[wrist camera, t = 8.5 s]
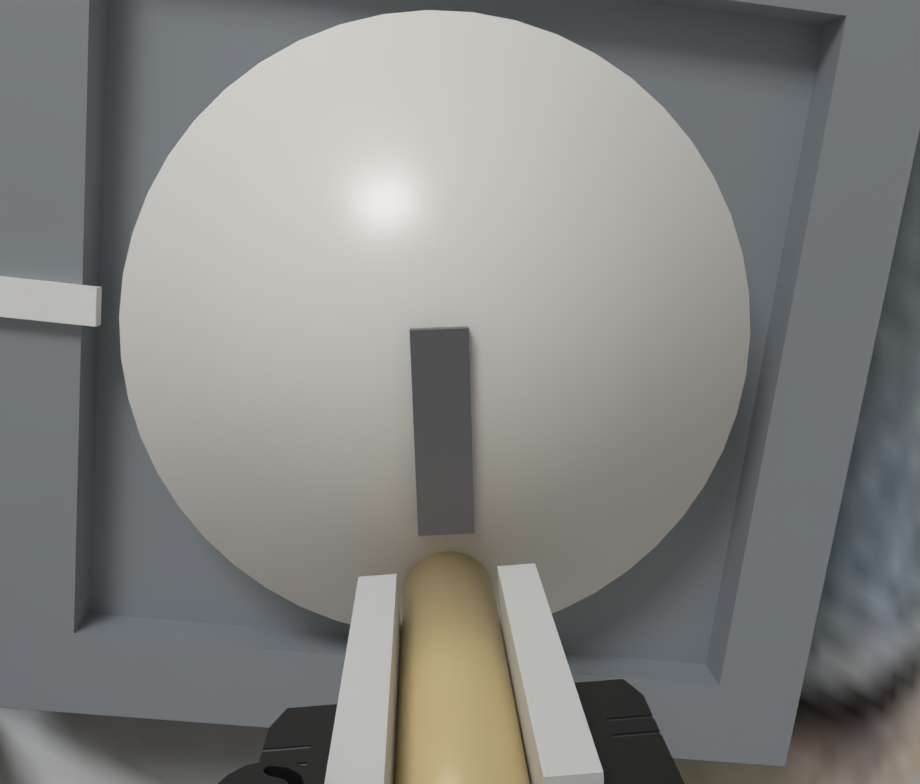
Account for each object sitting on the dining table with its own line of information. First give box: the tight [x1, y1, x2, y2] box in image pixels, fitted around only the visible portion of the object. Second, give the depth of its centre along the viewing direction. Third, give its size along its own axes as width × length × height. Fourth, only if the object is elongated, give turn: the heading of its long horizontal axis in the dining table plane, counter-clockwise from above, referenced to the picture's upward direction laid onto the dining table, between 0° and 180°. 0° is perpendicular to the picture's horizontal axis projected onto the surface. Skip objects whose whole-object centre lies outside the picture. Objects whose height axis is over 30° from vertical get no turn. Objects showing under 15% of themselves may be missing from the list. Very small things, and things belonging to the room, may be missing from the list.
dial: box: [119, 10, 750, 784], centre depth 14 cm, size 13×13×10 cm
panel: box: [0, 0, 920, 767], centre depth 20 cm, size 20×20×3 cm
